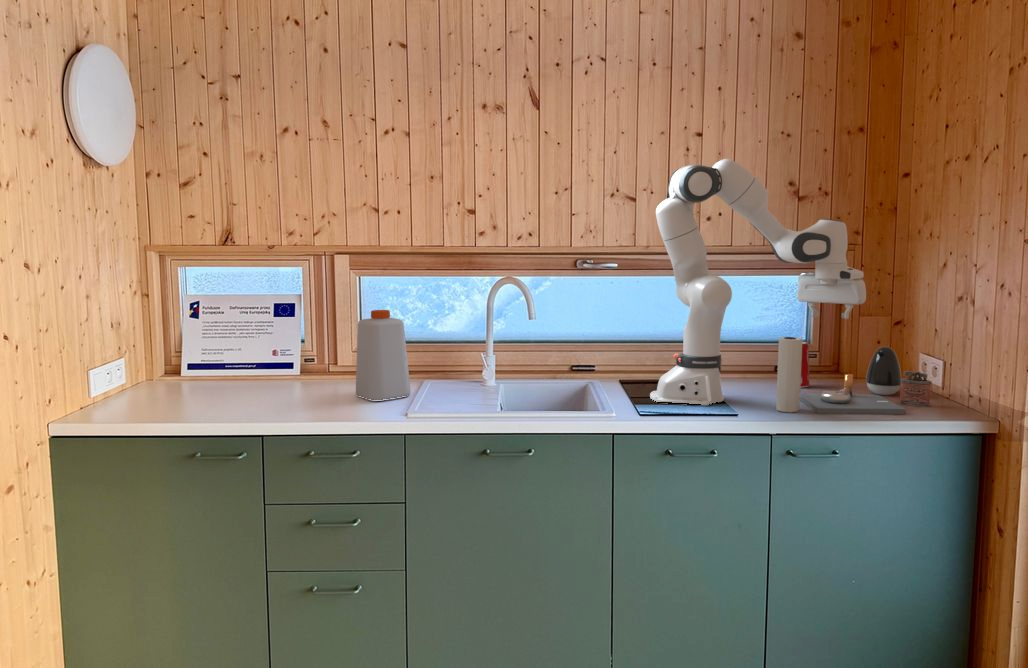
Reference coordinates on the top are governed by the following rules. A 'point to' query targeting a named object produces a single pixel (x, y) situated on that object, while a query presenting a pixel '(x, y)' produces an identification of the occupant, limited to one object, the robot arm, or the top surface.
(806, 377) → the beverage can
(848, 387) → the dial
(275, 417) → the top surface
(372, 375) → the plastic bottle
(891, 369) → the black egg-shaped dome
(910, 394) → the brown textured block
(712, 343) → the robot arm
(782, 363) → the paper towel roll
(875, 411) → the slate board
